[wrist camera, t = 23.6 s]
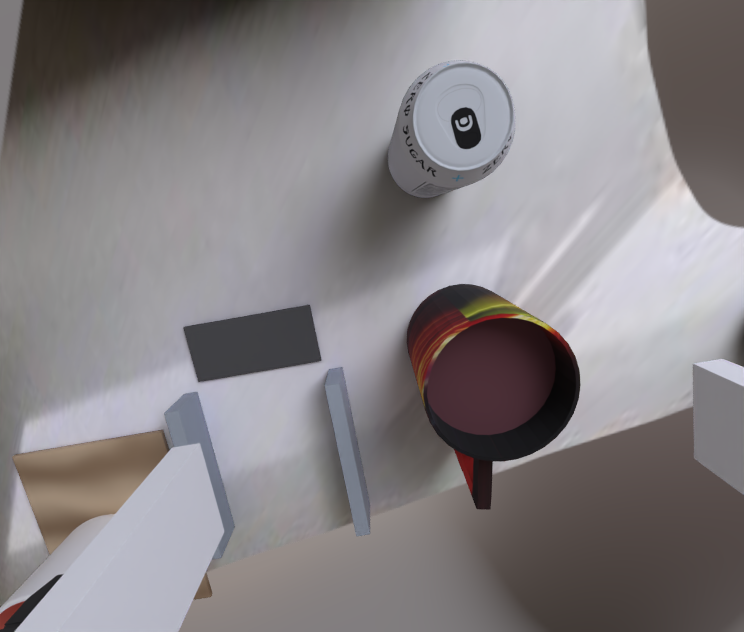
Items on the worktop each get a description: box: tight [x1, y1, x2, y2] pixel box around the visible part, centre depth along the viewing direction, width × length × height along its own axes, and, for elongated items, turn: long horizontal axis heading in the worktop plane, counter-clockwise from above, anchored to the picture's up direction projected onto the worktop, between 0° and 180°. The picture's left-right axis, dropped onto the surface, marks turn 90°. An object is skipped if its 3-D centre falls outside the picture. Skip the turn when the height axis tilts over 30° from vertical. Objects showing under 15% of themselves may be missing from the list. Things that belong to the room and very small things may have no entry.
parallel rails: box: [164, 367, 370, 559], centre depth 39 cm, size 14×14×4 cm
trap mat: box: [184, 305, 321, 382], centre depth 39 cm, size 5×11×1 cm, turn 100°
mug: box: [407, 284, 580, 509], centre depth 33 cm, size 10×14×12 cm
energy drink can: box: [388, 60, 516, 198], centre depth 28 cm, size 6×6×15 cm
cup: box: [0, 514, 115, 629], centre depth 38 cm, size 10×10×10 cm
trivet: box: [12, 430, 212, 600], centre depth 42 cm, size 18×14×1 cm
